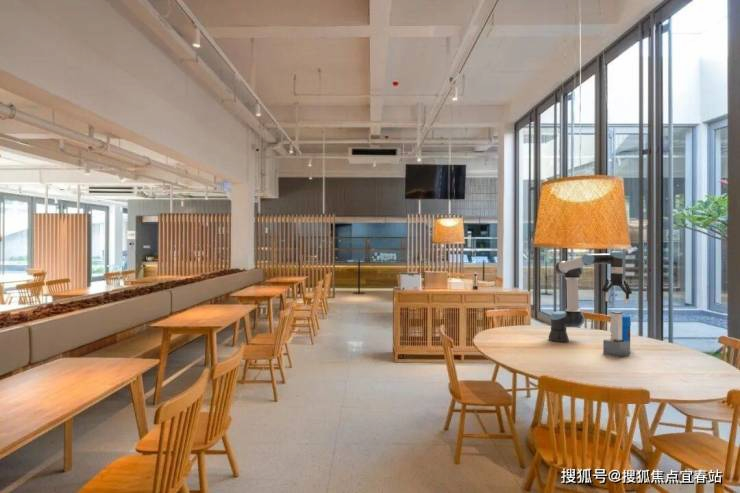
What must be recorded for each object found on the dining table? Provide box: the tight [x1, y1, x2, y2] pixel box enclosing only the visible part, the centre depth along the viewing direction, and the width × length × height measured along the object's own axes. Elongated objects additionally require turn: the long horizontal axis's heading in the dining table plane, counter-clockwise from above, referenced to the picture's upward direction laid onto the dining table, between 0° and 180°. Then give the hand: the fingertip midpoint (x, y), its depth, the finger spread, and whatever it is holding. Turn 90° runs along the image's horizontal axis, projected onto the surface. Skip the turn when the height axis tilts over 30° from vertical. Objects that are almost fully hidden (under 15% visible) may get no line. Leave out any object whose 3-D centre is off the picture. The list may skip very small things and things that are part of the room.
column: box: [610, 310, 624, 342], centre depth 298 cm, size 5×6×22 cm
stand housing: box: [602, 337, 631, 358], centre depth 298 cm, size 12×12×11 cm
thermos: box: [622, 314, 631, 342], centre depth 313 cm, size 11×11×25 cm
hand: (616, 302), depth 298 cm, fingers open, 13 cm apart
